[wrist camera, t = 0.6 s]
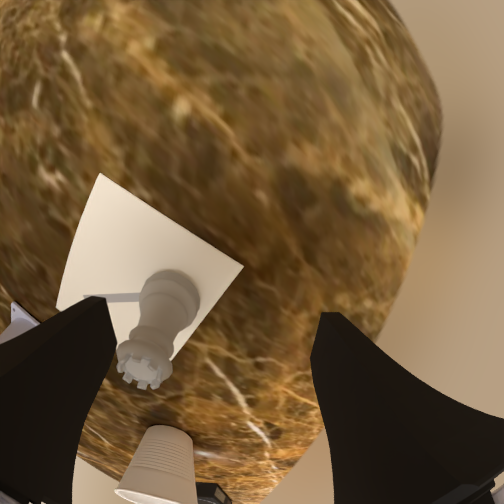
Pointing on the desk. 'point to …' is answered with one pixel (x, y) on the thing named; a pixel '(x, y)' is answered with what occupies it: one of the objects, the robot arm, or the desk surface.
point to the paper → (137, 258)
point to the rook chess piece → (157, 328)
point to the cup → (161, 469)
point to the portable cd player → (210, 494)
